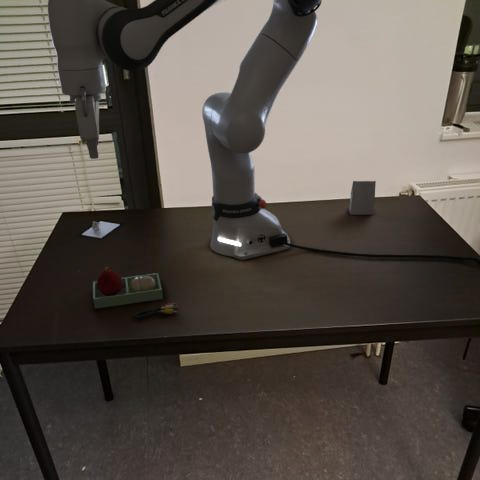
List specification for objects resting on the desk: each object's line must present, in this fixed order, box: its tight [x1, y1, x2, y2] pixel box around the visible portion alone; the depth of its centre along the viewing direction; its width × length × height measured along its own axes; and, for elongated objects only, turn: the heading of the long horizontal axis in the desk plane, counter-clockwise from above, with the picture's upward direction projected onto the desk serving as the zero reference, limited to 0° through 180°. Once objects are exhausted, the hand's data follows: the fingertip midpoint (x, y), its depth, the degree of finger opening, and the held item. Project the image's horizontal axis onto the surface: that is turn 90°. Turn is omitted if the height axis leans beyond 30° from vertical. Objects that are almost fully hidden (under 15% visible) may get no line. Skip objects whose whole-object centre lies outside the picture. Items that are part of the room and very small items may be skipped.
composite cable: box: [134, 302, 179, 320], centre depth 117 cm, size 10×5×2 cm, turn 95°
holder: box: [92, 272, 164, 309], centre depth 123 cm, size 16×8×3 cm, turn 103°
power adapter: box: [90, 221, 102, 233], centre depth 153 cm, size 3×3×3 cm
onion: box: [96, 266, 122, 296], centre depth 121 cm, size 6×6×8 cm
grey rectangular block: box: [348, 180, 377, 216], centre depth 158 cm, size 4×7×10 cm, turn 87°
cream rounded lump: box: [131, 275, 156, 292], centre depth 123 cm, size 6×4×4 cm
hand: (94, 151), depth 112 cm, fingers open, 8 cm apart
